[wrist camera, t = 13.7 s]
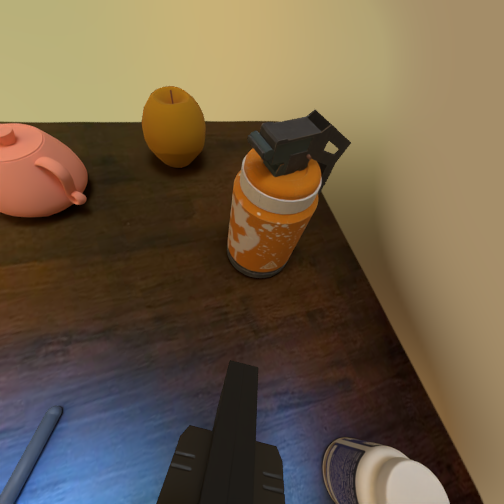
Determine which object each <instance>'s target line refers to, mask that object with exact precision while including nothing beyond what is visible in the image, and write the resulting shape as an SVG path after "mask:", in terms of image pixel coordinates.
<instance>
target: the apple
mask: <svg viewBox="0 0 504 504" xmlns="http://www.w3.org/2000/svg"><path fill="white" fill-rule="evenodd" d="M142 128H143V133H144V138H145V141H146V143H147V144H148V146H149V148H150V149H151V151H152V152H153V153H154V154H155V155H156V156H157V157H158V158H159V159H160V160H161V161H163V162H164V163H165V164H166V165H168V166H171V167H173V168H182V167H185V166H188V165H189V164H190V163H191V162H192V161H193V160H194V159H195V158H196V157H197V156H198V155H199V154H200V152H201V151H202V149H203V146H204V143H205V129H206V125H205V121H204V116H203V113H202V111H201V109H200V107H199V105H198V103H197V102H196V101H195V100H194V98H193V97H192V96H190V95H189V94H188V93H187V92H185V91H184V90H182V89H180V88H178V87H173V86H168V87H162V88H159V89H157V90H155V91H154V92H153V93H151V95H150V97H149V99H148V101H147V103H146V105H145V106H144V110H143V116H142Z"/></svg>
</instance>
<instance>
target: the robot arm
mask: <svg viewBox="0 0 504 504" xmlns="http://www.w3.org/2000/svg"><path fill="white" fill-rule="evenodd" d="M257 389H258V367H254V366H250V365H246V364H243V363H239V362H235V361H231V360H230V362H229V366H228V370H227V373H226V377H225V381H224V385H223V389H222V392H221V396H220V400H219V404H218V408H217V413H216V417H215V422H214V426H213V430H212V431H210V430H207V429H203V428H199V427H195V426H191V425H189V427H188V428H187V429H186V430H185V431H184V432H183V434H182V435H181V436H180V438H179V441H178V444H177V447H176V450H175V453H174V455H173V458H172V461H171V464H170V466H169V469H168V472H167V475H166V478H165V481H164V483H163V486H162V489H161V492H160V495H159V497H158V500H157V503H156V504H285V494H284V480H283V464H282V459H281V457H280V454H279V452H278V449H277V447H276V446H273V445H269V444H265V443H261V442H257V441H256V416H257Z"/></svg>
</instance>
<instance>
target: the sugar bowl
mask: <svg viewBox="0 0 504 504" xmlns="http://www.w3.org/2000/svg"><path fill="white" fill-rule="evenodd" d="M87 181H88V174H87V170H86V168H85V166H84V165H83V163H82V162H81V160H80V159H79V158H78V157H77V156H76V154H75V153H74V152H73V151H72V150H71V149H69V148H68V147H67V146H66V145H64V144H63V143H62V142H60V141H59V140H57V139H55V138H54V137H52V136H50V135H49V134H47V133H45V132H43V131H41V130H39V129H37V128H35V127H33V126H29V125H25V124H16V123H12V124H0V212H1V213H4V214H7V215H11V216H17V217H43V216H45V217H46V216H50V215H52V214H55V213H58V212H61V211H63V210H65V209H66V208H68V207H70V206H71V205H72V204H76V205H82V204H84V203H85V202H86V199H87V198H86V196H85V195H83V194H82V193H83V191H84V190H85V188H86V185H87Z"/></svg>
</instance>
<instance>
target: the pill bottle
mask: <svg viewBox="0 0 504 504" xmlns="http://www.w3.org/2000/svg"><path fill="white" fill-rule="evenodd" d="M323 477H324V482H325V485H326V488H327V490H328V492H329V494H330V496H331V498H332V499H333V500H334V502H335V503H336V504H450V502H449V499H448V497H447V494H446V492H445V490H444V488H443V486H442V485H441V483H440V482H439V480H438V479H437V478H436V476H435V475H434V474H433V473H432V472H431V471H430V470H429V469H428V468H426V467H425V466H424V465H422V464H420V463H418V462H416V461H413V460H410V459H409V458H408V457H406V456H405V455H404V454H403V453H401V452H400V451H398V450H396V449H394V448H392V447H389V446H385V445H380V444H376V443H372V442H367V441H363V440H359V439H354V438H348V437H344V438H339V439H337V440H335V441H334V442H332V443H331V444H330V446H329V447H328V449H327V450H326V453H325V456H324V460H323Z"/></svg>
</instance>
